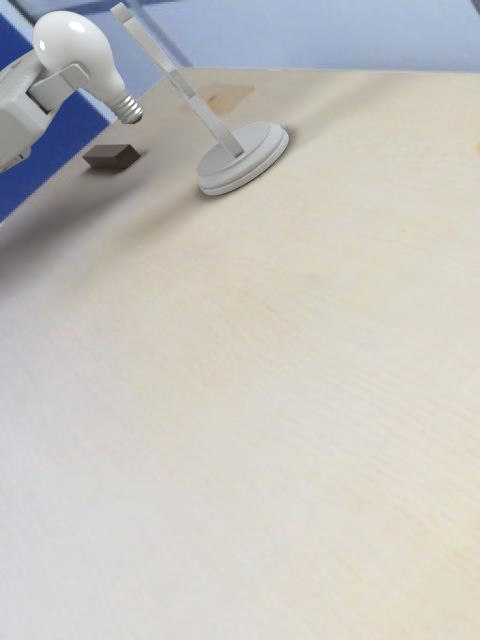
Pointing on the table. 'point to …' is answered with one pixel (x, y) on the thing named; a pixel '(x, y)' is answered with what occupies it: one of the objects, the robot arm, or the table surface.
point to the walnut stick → (111, 156)
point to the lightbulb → (85, 59)
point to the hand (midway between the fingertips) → (92, 57)
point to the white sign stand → (214, 125)
